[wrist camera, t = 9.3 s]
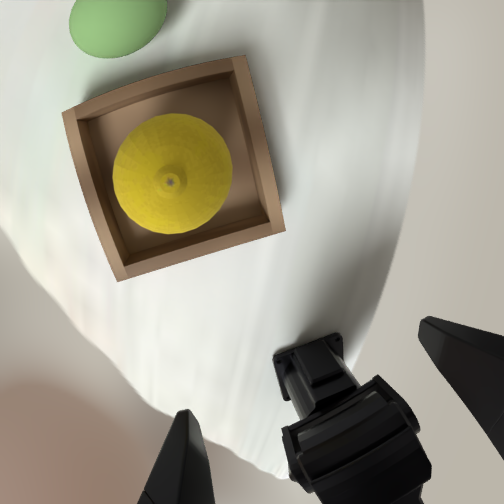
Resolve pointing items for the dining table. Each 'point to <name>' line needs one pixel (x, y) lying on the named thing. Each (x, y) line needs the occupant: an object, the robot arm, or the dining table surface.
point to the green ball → (115, 25)
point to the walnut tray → (197, 105)
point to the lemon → (172, 173)
